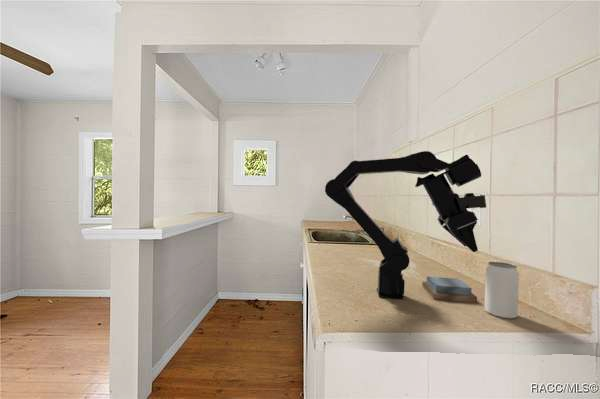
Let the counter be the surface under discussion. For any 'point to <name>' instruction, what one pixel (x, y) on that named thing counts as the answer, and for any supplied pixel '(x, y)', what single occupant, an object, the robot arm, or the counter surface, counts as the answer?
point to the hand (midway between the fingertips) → (471, 248)
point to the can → (502, 290)
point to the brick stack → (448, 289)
